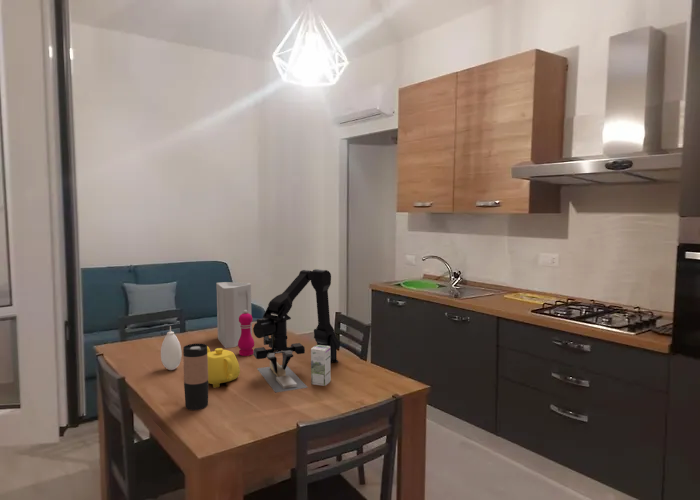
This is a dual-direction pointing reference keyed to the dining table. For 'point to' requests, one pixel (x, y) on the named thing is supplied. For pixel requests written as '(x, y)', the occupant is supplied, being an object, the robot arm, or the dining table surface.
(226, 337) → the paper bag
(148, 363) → the dining table surface
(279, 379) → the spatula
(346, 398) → the dining table surface
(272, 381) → the charcoal board
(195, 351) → the travel mug
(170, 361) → the air blower bulb
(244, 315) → the pepper mill
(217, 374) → the teapot
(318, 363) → the syrup box
